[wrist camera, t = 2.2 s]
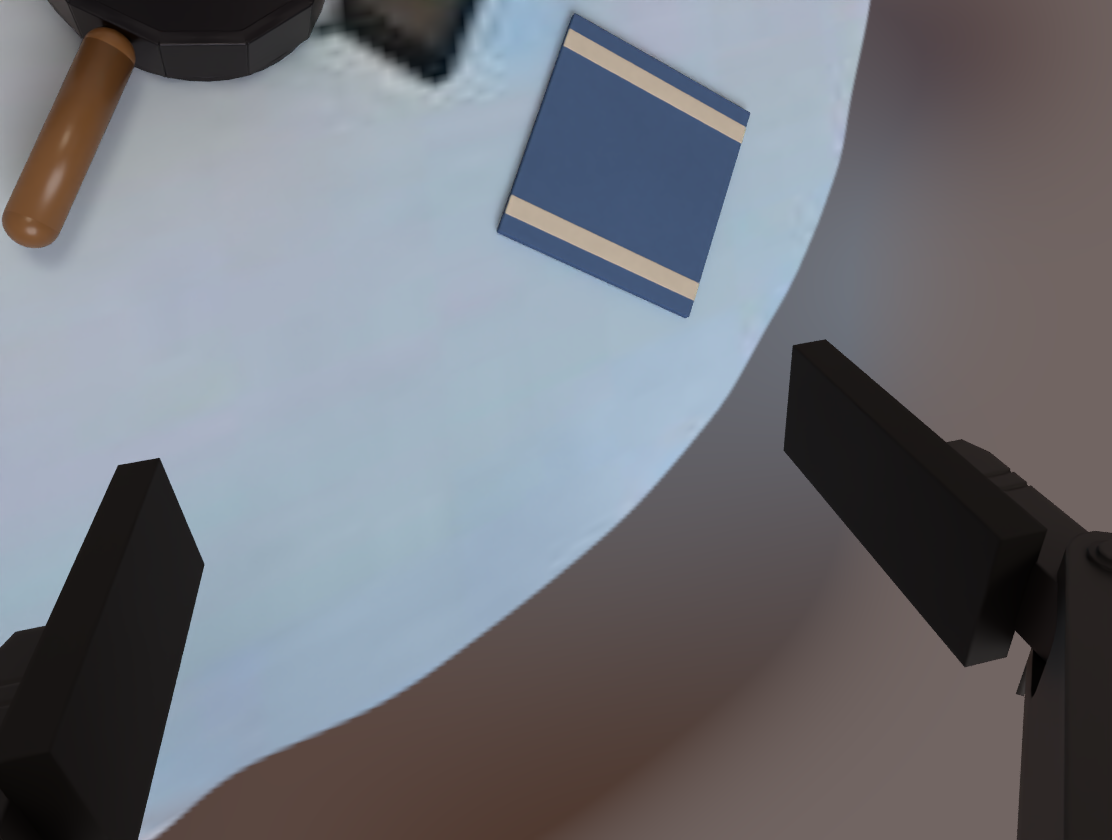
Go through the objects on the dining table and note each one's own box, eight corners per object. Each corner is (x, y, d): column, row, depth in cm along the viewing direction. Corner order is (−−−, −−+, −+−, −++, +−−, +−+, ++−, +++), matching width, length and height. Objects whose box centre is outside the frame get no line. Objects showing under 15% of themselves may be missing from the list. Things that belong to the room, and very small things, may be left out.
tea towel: (496, 232, 38) (498, 229, 38) (571, 16, 40) (574, 11, 39) (685, 318, 41) (689, 316, 41) (746, 115, 43) (751, 112, 43)
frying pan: (86, -259, 33) (68, -333, 30) (366, -100, 37) (376, -152, 33) (-139, 195, 29) (-185, 164, 26) (195, 318, 33) (189, 303, 30)
